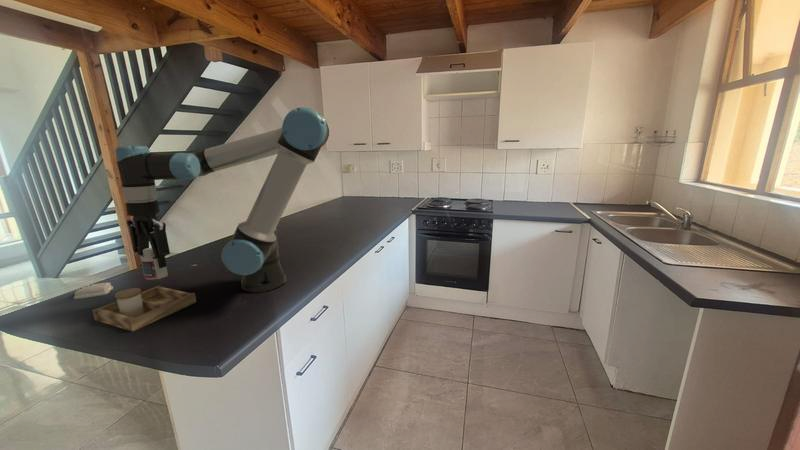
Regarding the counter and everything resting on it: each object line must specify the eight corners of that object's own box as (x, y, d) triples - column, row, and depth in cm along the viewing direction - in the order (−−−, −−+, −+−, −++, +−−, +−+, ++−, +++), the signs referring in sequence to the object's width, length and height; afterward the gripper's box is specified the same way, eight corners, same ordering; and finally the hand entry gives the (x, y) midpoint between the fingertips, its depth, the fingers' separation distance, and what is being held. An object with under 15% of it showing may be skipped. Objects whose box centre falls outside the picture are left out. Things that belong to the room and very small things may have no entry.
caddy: (196, 304, 100) (195, 293, 99) (133, 334, 84) (130, 321, 83) (161, 295, 106) (159, 285, 105) (95, 322, 90) (92, 310, 89)
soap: (72, 300, 104) (70, 292, 103) (81, 292, 110) (80, 284, 109) (107, 295, 108) (105, 287, 107) (114, 287, 114) (113, 280, 113)
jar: (150, 313, 93) (145, 289, 91) (128, 323, 88) (122, 297, 86) (137, 310, 95) (132, 286, 93) (116, 319, 90) (110, 294, 88)
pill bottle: (155, 280, 93) (149, 252, 91) (140, 279, 94) (134, 251, 92) (170, 274, 98) (166, 247, 96) (156, 273, 99) (151, 246, 97)
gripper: (176, 200, 91) (188, 275, 97) (136, 197, 98) (149, 268, 103) (148, 204, 84) (163, 285, 90) (107, 200, 91) (123, 276, 96)
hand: (156, 275), depth 96 cm, fingers closed on pill bottle, 5 cm apart
